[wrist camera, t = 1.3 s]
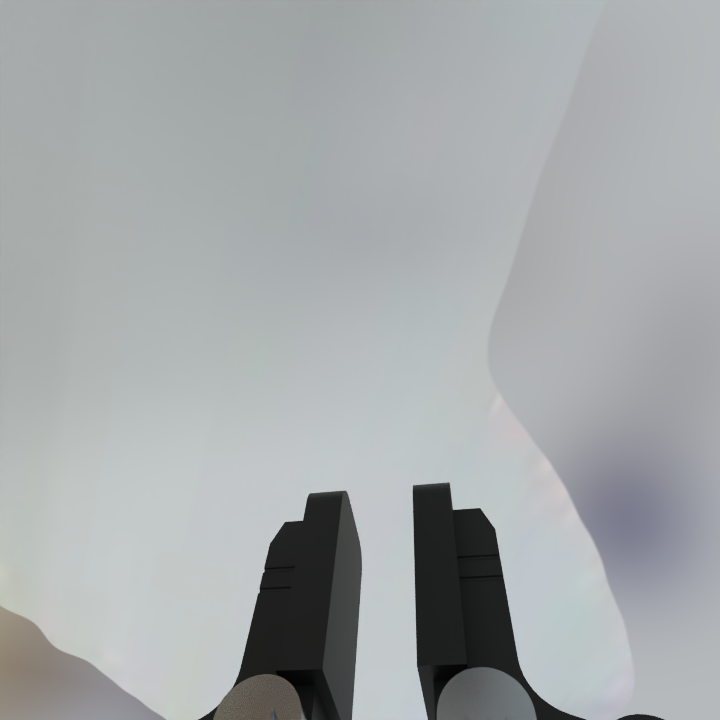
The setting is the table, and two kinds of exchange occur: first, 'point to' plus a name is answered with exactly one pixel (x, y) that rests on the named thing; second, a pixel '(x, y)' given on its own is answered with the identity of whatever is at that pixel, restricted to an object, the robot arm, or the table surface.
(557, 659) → the table surface
